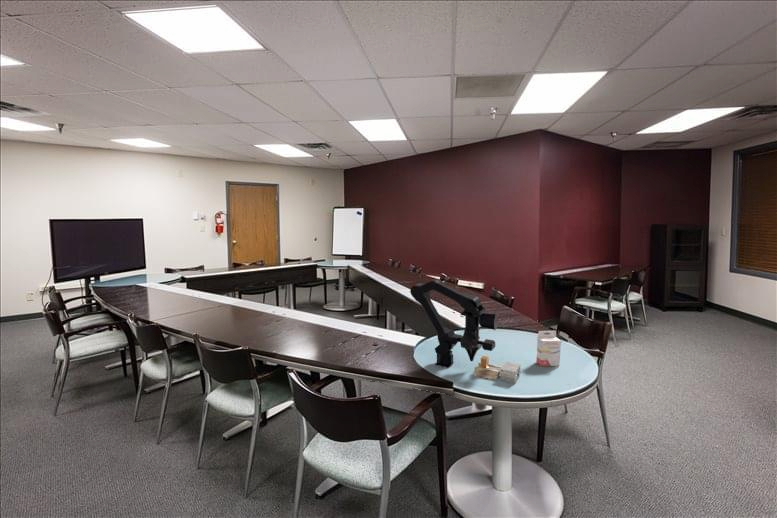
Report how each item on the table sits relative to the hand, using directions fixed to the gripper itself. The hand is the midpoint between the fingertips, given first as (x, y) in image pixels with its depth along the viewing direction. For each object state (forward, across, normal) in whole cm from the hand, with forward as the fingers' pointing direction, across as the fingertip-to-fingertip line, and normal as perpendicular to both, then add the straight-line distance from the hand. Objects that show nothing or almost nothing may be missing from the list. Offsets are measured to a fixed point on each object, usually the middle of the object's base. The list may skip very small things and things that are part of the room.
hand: (471, 361), depth 163 cm
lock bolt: (+3, +8, 0) cm, 9 cm away
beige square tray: (+4, +7, 0) cm, 8 cm away
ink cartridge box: (+4, +27, +22) cm, 35 cm away
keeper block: (+4, +16, 0) cm, 17 cm away
